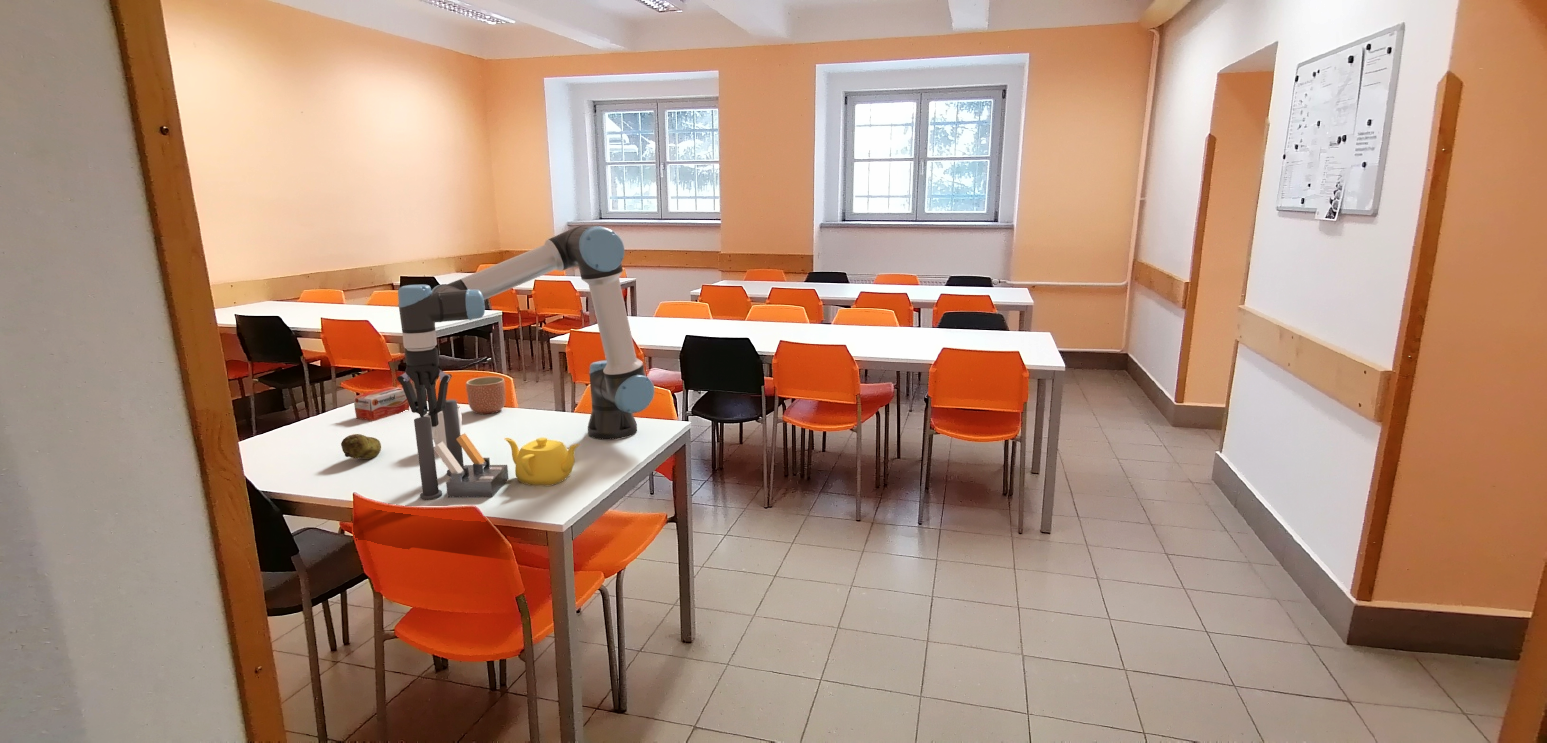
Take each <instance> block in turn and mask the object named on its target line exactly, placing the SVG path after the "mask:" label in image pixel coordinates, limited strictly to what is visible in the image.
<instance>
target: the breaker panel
mask: <svg viewBox="0 0 1547 743" xmlns="http://www.w3.org/2000/svg"><path fill="white" fill-rule="evenodd" d="M482 458H483V459H484V460H485V461H486V462H487V465H486V466H485V467H483V464H474V463H472V464H464V467H462V469H463V470H465V472H466V473H465V475H464V476H463V477H462V476H461V473H451V474H450V475H451V476H450V478H449V479H448V480H447V481H445V484H446V496H447V498H493V497H494V496H495V495H496V494H497V492H498V491H500V490H501V489H502V487H503V486H504V485H505V484H506V483H507V482H508V481H509V478H510V477H509V470H508V469H509V468H508V464H491V461H490V457H482Z"/></svg>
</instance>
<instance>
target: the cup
mask: <svg viewBox="0 0 1547 743" xmlns="http://www.w3.org/2000/svg"><path fill="white" fill-rule="evenodd" d="M457 408H458V417H459V427H460V436H461V435H462V422H463V421H462V418H463V416H462V411H461V406H460V405H458V404H457ZM427 413H429V411H428V412H427ZM438 422H439V424H438V425H437V426H436V434H437V437H436V438H435V439H433V443H434V447H435V446H436V445H437V444H439V443H440V442H442V441H443V443H444V444H445V445H446V447H447V443H446V434H445V425H444V417H443V410H442V411H441V412H438Z"/></svg>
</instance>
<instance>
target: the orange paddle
mask: <svg viewBox="0 0 1547 743" xmlns="http://www.w3.org/2000/svg"><path fill="white" fill-rule="evenodd" d="M456 440H457V441H458V443H459V444H460V445H461V447H462V450H463V451H464V452H465V454H466V455H467V456H468V458H469V460H470V461H471V463H472V464H483V467H485V466H486V465H487V462H486V461H485V460H484V459H483V458H484V457H483V456H482V455H481V454H480V452H479V451H478V449H477V448H476V446H475V445H474V443H472V441H471V440H470V438H469V437H468V435H467V434H466V432H464V433H461V436H459V437H458V438H457V439H456Z"/></svg>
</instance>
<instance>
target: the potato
mask: <svg viewBox="0 0 1547 743" xmlns="http://www.w3.org/2000/svg"><path fill="white" fill-rule="evenodd" d="M340 445H341V446H340V447H341V449H342V452H343V453H344V457H345V458H352V459H362V460H363V459H364V460H368V459H373V458H375V457H376V456H378V455H379V454H380V453H381V449H382V444H381V441H380V439H377V438H376V437H370V436H366V435H364V434H360V433H353V434H351V435H350V434H349V435H348V436H345V437H344V438H343V439H342V440H341V443H340Z"/></svg>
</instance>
